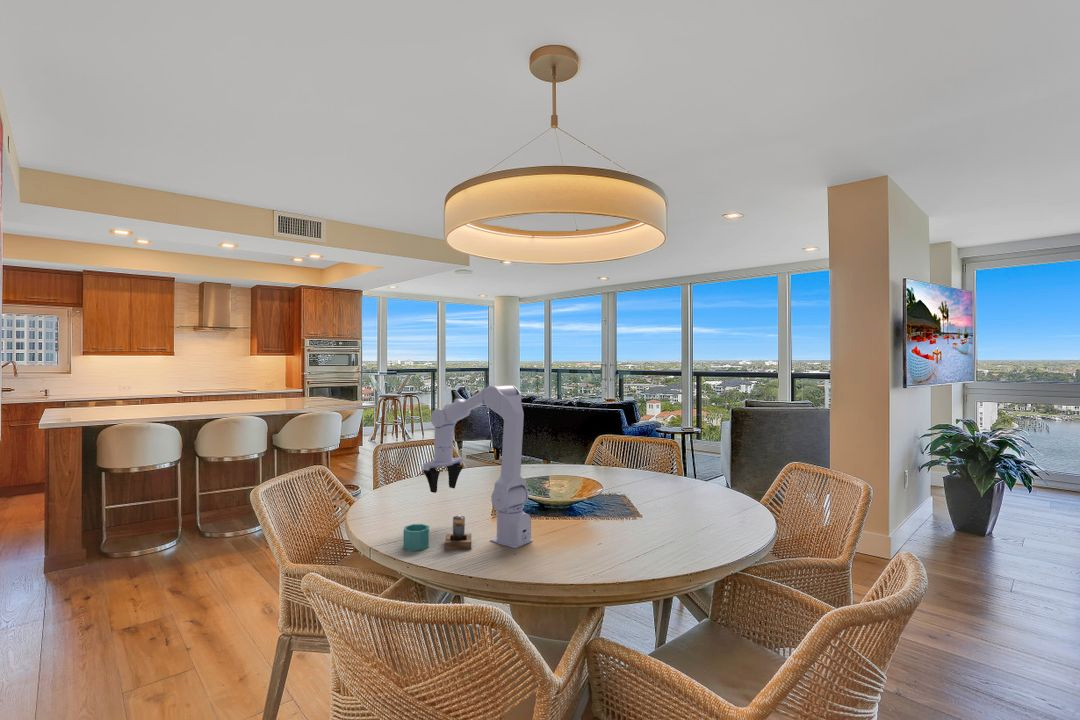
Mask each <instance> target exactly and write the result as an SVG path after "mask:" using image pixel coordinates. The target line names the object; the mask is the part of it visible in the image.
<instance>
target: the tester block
mask: <svg viewBox="0 0 1080 720" xmlns="http://www.w3.org/2000/svg"><path fill="white" fill-rule="evenodd" d="M444 550H445V551H447V550H448V551H455V550H457V551H458V550H460V551H461V550H472V533H465V537H464V540H460V541H453V533H446V534H445V541H444Z"/></svg>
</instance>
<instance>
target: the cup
mask: <svg viewBox="0 0 1080 720" xmlns="http://www.w3.org/2000/svg"><path fill="white" fill-rule="evenodd" d="M402 537H403V538H402V539H403V540H402V541H403V542H402V543H403V544H402V546H403V548H402V549H403V550H407V551H414V552H416V551H423V550H425V549H428V548H429V547H430V546H429V545H430V525H428V524H424V523H415V524H414V523H412V524H409V525H406V526H404V528H403V536H402Z"/></svg>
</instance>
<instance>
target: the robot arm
mask: <svg viewBox="0 0 1080 720" xmlns="http://www.w3.org/2000/svg"><path fill="white" fill-rule="evenodd" d="M483 405H485V406H486V407H487V408H488V409H490V410H492V412H494V413H496V414H498V415H499V417H501V419H503V432H502V446H501V447H502V450H501V465H500V467H501V468H500V476H499V477H498V479H497V480H495V483H494V486H493V487H494V489H493V491H492V494H491V499H490V501H491V505H492V506H493V508H494V509H495V511H496V536H495V537H492V538H489V541H490V542H492V543H495V544H498V545H502V546H506V547H509V548H513V549H517V548H519V547H522V546H525V545H527V544H530V543H531V542H533V541H534V540H533V539H532V518H531V516H530V514H528V513H526V512H525V511H524V510H523V509H524V507H525V504H526V503H527V502H528V499H529V492H528V488H527V480H526V479H525V478H523V476H521V469H522V453H523V436H524V435H523V434H524V418H525V417H524V416H525V414H524V409H523V404H522V392H521V391H520V390H519V389H518V388H517V387H516V385H513V384H508V385H488V386H487V387H484V388H482V389H481V390H480V391H478V392H476V393H475V394H473V395H471V396H470V397H468V398H467V399H464V398H455V399H453V402H452V403H449V404H445V405H444V407H443V408H435V409H434V410H432V412H431V413H430V422H431V424H432V425H433V426H434V441H433V442H434V446H433V448H434V449H433V450H434V451H433V452H434V456H433V458H434V459H432V460H431V461H428V462H424V463H423V464H422V465H423V466H422V470H423V473H424V475H425V478H426V480H427V483H428V486H429V490H430V493H433V494H435V493H436V494H437V491H438V483H439V476H440V473H441V471H440V470H437V469H439V468H444V467H445V468H446V469H447V470H446V471H447V474H448V475H447V476H448V488H450V489H456V486H457V482H458V478H459V476H460V474H461V471H462V470H463V467H464V466H463V458H462V457H457V456H456V457H454V454H453V453H454V450H453V449H454V431H455V429H456V428H455V427H456V424H457V423H458V422H459V421H460V420H463V419H464V418H467V417H469V415H470V414H471V411H472V410H474V409H477V408H479V407H481V406H483Z"/></svg>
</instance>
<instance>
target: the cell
mask: <svg viewBox="0 0 1080 720" xmlns="http://www.w3.org/2000/svg"><path fill="white" fill-rule="evenodd" d="M465 519H466V517H465V516H463V515H460V514H458V515H455V516H452V534H453V541H460V540H464V537H465V534H466V532H465V531H466V529H465V525H466V520H465Z"/></svg>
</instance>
